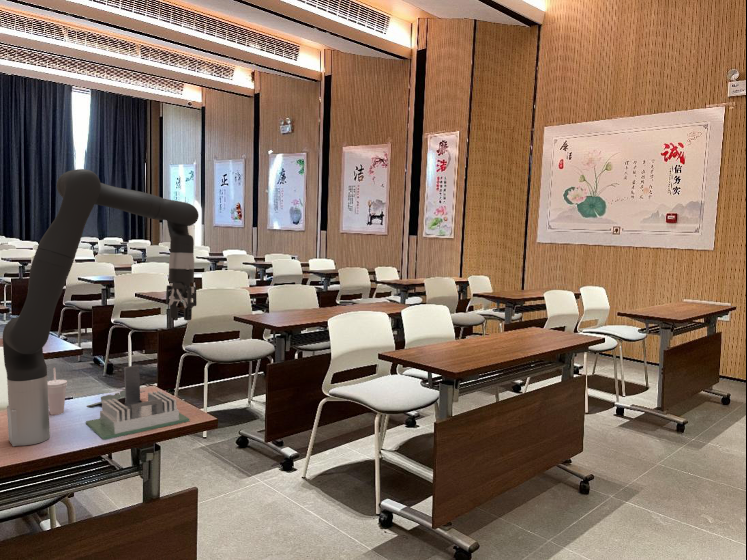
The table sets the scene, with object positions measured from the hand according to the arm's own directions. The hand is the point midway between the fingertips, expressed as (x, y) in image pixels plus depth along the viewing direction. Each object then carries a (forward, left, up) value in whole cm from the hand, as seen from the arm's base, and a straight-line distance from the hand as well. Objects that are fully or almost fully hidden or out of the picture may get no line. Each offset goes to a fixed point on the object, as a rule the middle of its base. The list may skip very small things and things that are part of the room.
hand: (180, 319), depth 185 cm
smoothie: (-32, +19, -29) cm, 47 cm away
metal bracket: (-14, +17, -29) cm, 37 cm away
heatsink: (-16, -6, -28) cm, 33 cm away
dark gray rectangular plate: (-16, -2, -23) cm, 28 cm away
